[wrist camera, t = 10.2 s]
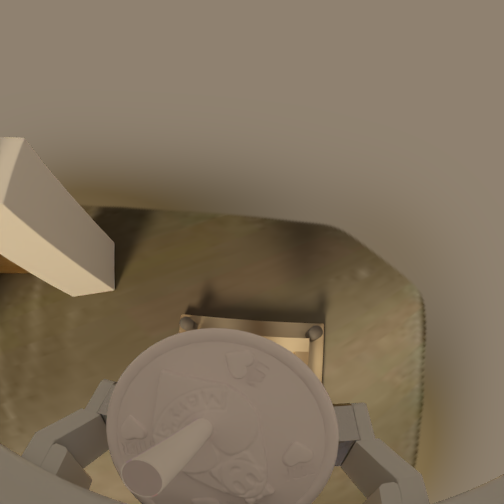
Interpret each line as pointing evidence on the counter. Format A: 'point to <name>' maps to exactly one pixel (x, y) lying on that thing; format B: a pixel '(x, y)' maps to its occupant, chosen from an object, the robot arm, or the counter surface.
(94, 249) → the milk
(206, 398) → the smoothie
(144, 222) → the counter surface
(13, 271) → the tap handle
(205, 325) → the holder
